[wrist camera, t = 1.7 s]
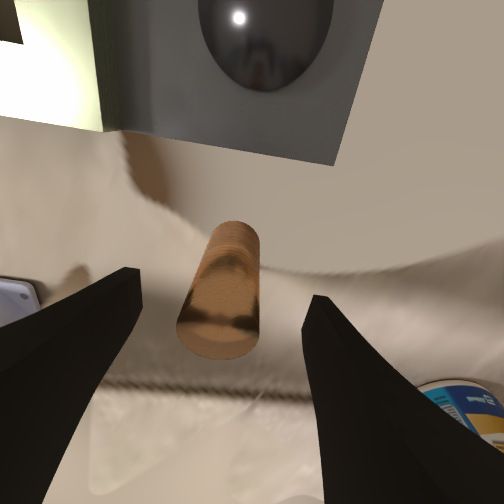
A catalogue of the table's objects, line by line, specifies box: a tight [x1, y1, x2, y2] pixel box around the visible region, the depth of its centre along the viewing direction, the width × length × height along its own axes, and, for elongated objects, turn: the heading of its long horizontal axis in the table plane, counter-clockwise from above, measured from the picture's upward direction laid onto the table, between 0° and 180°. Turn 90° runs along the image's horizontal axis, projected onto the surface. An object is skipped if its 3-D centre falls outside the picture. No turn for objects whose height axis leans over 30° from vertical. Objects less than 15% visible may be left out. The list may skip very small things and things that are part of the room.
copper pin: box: [176, 221, 260, 360], centre depth 12 cm, size 3×3×7 cm
